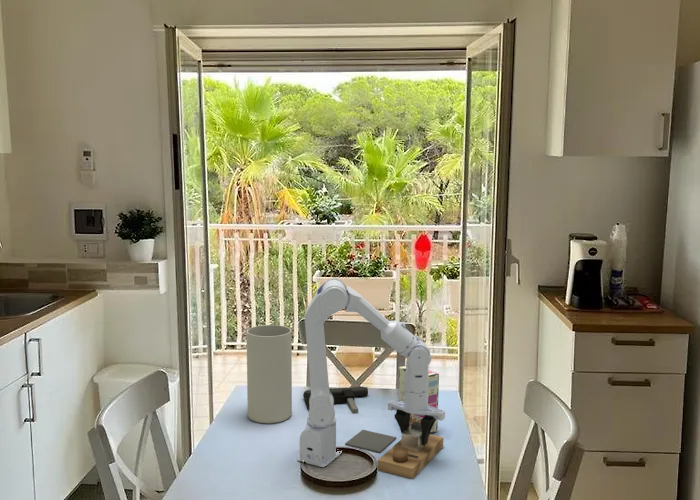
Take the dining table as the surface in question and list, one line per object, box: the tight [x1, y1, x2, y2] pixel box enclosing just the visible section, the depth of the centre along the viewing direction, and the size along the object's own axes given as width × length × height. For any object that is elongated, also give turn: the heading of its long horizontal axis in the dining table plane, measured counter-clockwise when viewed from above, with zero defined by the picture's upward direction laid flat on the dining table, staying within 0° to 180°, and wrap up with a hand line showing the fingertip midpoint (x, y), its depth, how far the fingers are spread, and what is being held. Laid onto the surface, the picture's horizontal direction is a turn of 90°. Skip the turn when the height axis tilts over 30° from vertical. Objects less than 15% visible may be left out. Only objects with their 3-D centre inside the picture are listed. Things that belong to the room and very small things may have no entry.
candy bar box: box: [397, 365, 440, 435], centre depth 185 cm, size 11×5×16 cm, turn 39°
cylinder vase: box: [246, 324, 293, 424], centre depth 192 cm, size 12×12×25 cm
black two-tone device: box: [302, 386, 369, 414], centre depth 203 cm, size 3×20×16 cm
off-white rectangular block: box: [400, 422, 429, 452], centre depth 169 cm, size 7×4×5 cm, turn 152°
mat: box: [344, 429, 397, 454], centre depth 177 cm, size 10×10×1 cm
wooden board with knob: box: [377, 434, 444, 480], centre depth 167 cm, size 20×9×5 cm, turn 152°
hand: (415, 441), depth 169 cm, fingers closed on off-white rectangular block, 4 cm apart
